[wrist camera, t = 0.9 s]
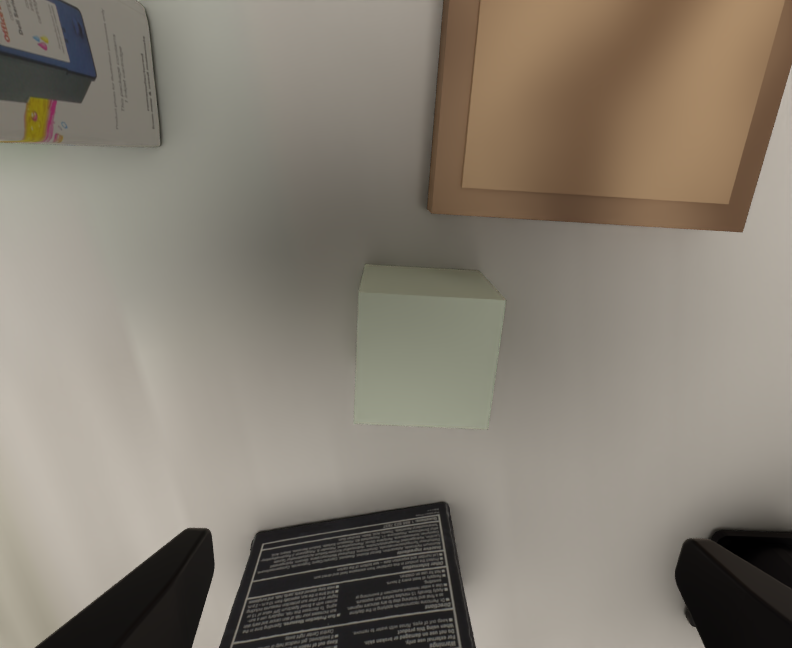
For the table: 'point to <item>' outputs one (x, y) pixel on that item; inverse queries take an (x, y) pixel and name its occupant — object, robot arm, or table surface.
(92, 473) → the table surface
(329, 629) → the small box
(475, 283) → the sage cube
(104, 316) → the table surface
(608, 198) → the brown wooden tray
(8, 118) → the ink box
